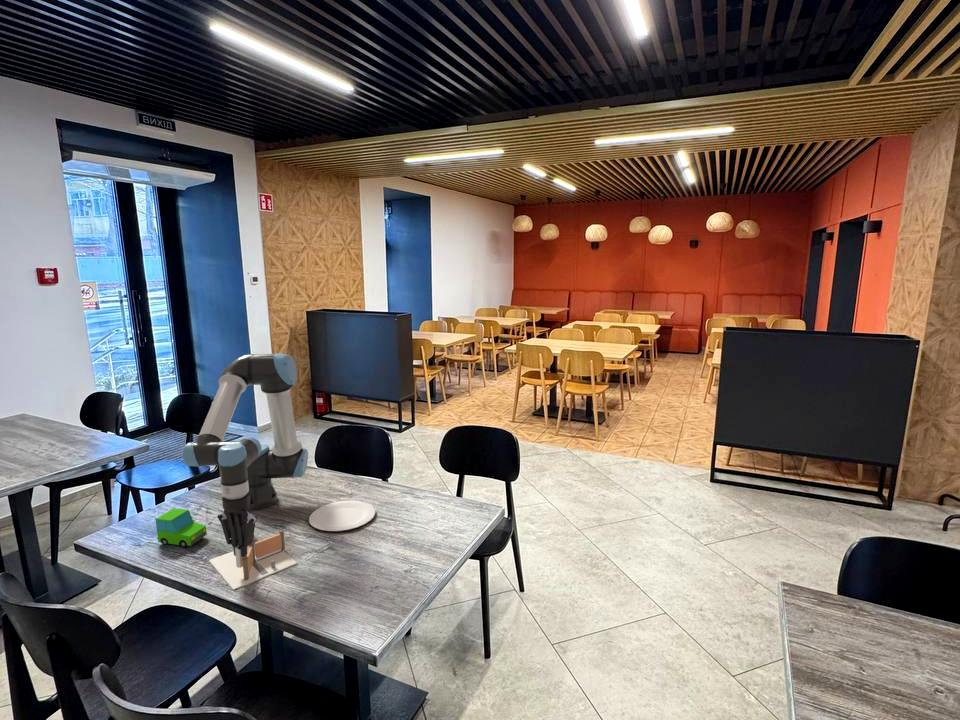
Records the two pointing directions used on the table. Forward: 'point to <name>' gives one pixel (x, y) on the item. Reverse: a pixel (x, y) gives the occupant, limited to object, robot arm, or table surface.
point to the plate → (342, 516)
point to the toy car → (179, 528)
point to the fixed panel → (268, 545)
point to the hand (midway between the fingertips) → (241, 565)
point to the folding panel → (247, 563)
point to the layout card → (258, 570)
